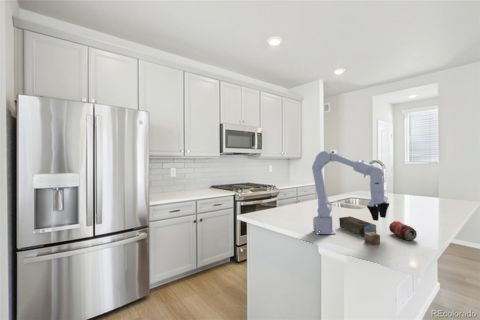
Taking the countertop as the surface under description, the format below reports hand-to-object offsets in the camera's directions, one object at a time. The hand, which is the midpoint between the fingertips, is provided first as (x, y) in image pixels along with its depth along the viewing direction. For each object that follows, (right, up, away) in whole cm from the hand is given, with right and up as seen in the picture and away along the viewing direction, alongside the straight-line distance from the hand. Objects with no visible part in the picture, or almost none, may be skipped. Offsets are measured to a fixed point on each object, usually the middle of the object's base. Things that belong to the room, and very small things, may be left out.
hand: (379, 218), depth 115 cm
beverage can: (+12, -10, 0) cm, 16 cm away
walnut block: (-7, -10, -6) cm, 14 cm away
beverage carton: (-5, -10, +12) cm, 17 cm away
